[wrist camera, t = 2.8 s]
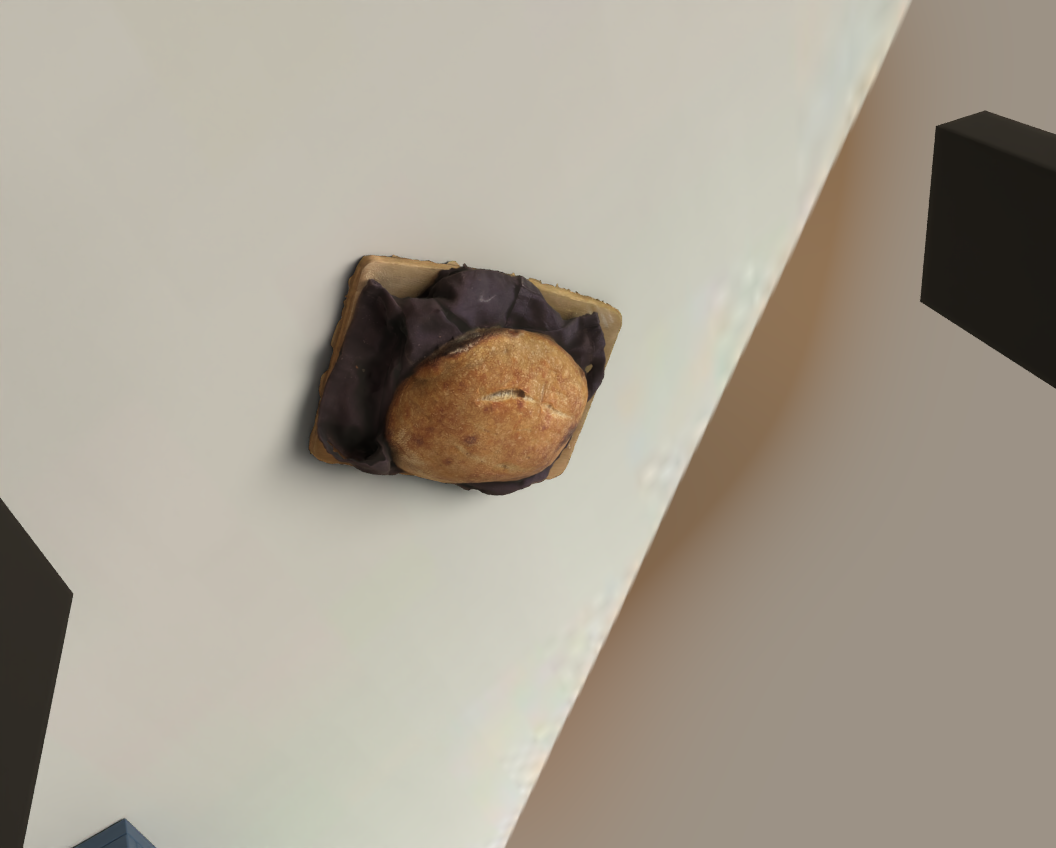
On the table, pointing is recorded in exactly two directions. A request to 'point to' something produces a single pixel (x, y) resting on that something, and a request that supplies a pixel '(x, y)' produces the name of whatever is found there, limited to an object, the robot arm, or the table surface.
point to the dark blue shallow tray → (118, 838)
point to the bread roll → (460, 374)
